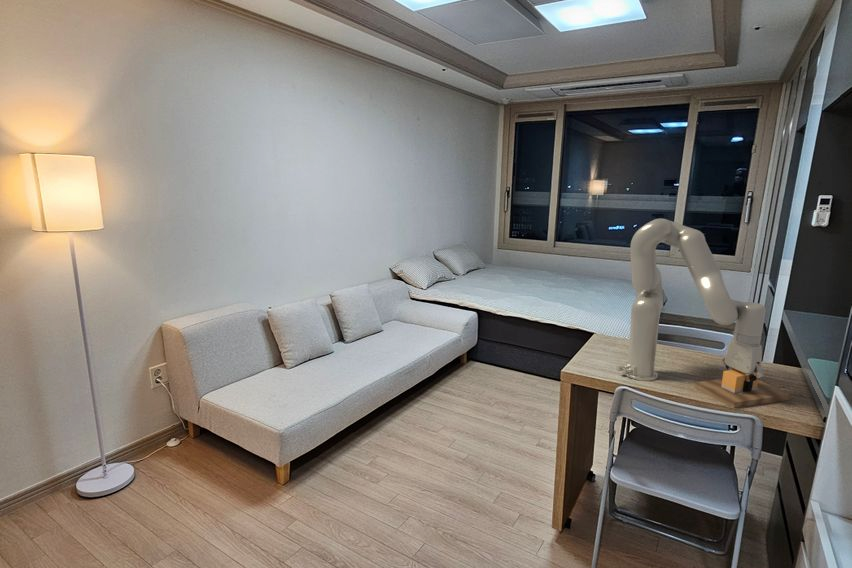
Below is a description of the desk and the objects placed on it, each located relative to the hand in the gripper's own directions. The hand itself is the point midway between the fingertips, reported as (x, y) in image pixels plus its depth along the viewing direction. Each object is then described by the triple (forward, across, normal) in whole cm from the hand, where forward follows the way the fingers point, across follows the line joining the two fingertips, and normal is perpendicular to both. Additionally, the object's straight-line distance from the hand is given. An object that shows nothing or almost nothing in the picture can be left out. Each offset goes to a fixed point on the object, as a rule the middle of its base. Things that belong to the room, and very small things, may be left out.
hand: (739, 386), depth 156 cm
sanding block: (0, 0, 0) cm, 0 cm away
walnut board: (+2, 0, +1) cm, 3 cm away
